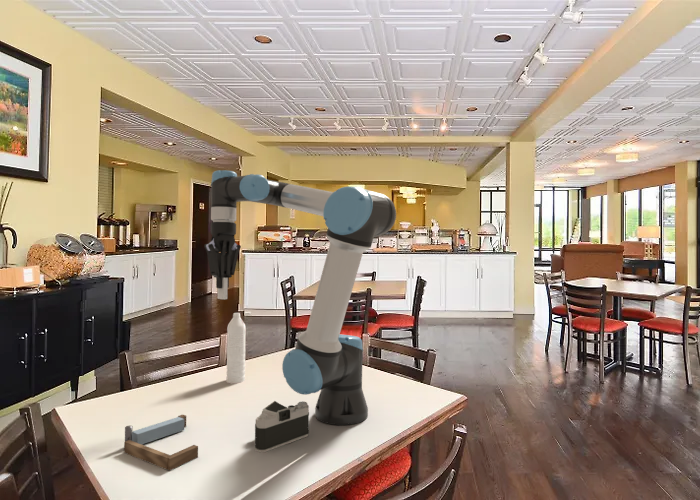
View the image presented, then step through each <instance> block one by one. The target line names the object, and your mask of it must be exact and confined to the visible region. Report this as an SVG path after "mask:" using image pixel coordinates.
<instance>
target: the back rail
mask: <svg viewBox="0 0 700 500" xmlns="http://www.w3.org/2000/svg"><path fill="white" fill-rule="evenodd" d="M123 442H124V443H123V446H124V447H123V449H124V450H123V453H125V454H127V455H129V456H132V457H133V458H136V459H139V460H142V461H144V462H147V463H148V464H152V465H154V466H157V467H159V468H162V469H165V470H166V471H167V470H168V458H167V456H170V455H171V454H168V453H166V452H163V451H160V450H158V449H154V448H152V447H149V446H146V445H144V444H142V445H141V444H139V443H136V442H133V441H131V440H128V441H125V440H124V441H123ZM168 471H169V470H168Z"/></svg>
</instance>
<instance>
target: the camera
mask: <svg viewBox="0 0 700 500" xmlns="http://www.w3.org/2000/svg"><path fill="white" fill-rule="evenodd" d="M309 408H310V407H309V404H308V402H307V401H299V402H297V404H295V405H292V404H291V405H288V406H284V405H283V404H281V403H279V402H277V401H276V400H274V401H273V402H271V403H270V404H269V405H267V406H266V407H264V408H263V409H262V411H261V414H259V416H256V418H255V425H254V432H255V433H254V450H255V451H257V452H258V453H266V452H268V451H271V450H273V449H276V448H280V447H282V446H284V445H288V444H290V443H294V442H296V441H299V440H300V439H304V438H306V437H307V438H308V437H309V433H310V431H309V430H310V429H309V417H310V412H309V410H310V409H309Z"/></svg>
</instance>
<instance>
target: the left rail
mask: <svg viewBox="0 0 700 500" xmlns="http://www.w3.org/2000/svg"><path fill="white" fill-rule="evenodd" d="M169 455H170V456H167V458H168V471H172V470H174V469H177V468H178V467H180V466H182V465H185V464H187V463H188V462H191V461H193V460H195V459H197V458H199V446H198V445H196V444H193V445H191V446H188V447H186V448H183V449H181V450H180V451H177V452H175V453H173V454H169Z"/></svg>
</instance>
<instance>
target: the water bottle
mask: <svg viewBox="0 0 700 500" xmlns="http://www.w3.org/2000/svg"><path fill="white" fill-rule="evenodd" d="M243 313H244V316H252V311H244V312H243ZM246 330H247V328H246V323H245V322H244V320H243V319H242V318H241V313H240V312H234V313H233V314H232V318H231V320H230V321H229V323H228V324H227V329H226V332H227V335H226V337H227V338H226V340H227V341H226V342H227V343H226V359H227V360H226V383H228V384H241V383H243V382H245V381H246V336H247V335H246V332H247V331H246Z"/></svg>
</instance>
